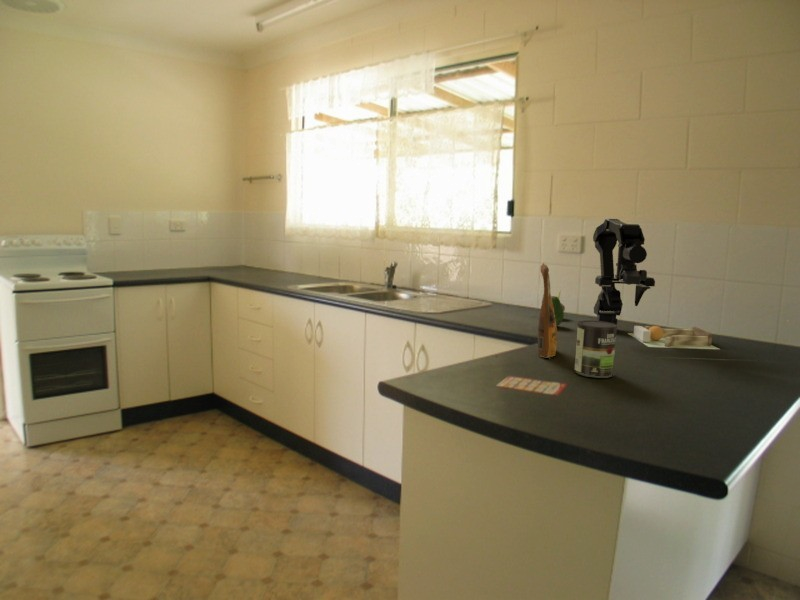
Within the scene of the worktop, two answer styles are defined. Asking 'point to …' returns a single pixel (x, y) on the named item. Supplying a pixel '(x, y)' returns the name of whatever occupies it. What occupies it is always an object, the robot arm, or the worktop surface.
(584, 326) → the coffee can
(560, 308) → the fruit
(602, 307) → the robot arm
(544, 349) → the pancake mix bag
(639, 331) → the white block
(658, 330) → the ball
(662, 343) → the white flat square board
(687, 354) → the worktop surface
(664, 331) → the wooden tray
